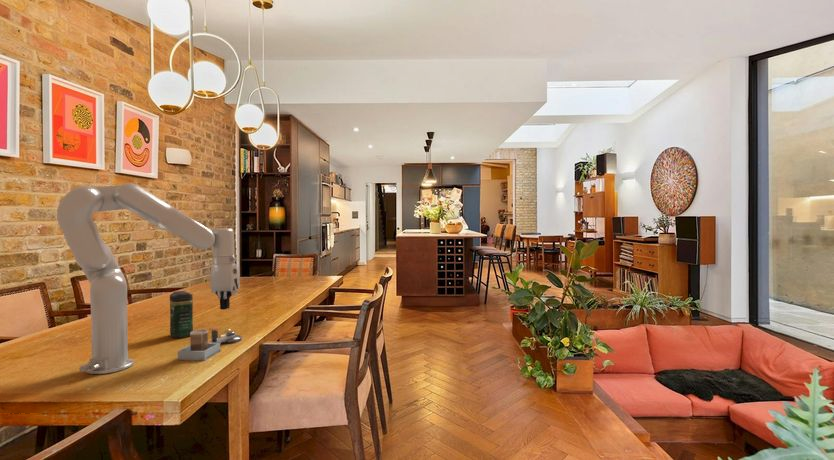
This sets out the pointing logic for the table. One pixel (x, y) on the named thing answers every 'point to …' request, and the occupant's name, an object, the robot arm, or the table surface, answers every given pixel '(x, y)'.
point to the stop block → (199, 340)
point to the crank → (221, 339)
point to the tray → (198, 352)
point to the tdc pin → (227, 331)
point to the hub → (233, 339)
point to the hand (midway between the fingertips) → (224, 308)
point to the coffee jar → (181, 314)
